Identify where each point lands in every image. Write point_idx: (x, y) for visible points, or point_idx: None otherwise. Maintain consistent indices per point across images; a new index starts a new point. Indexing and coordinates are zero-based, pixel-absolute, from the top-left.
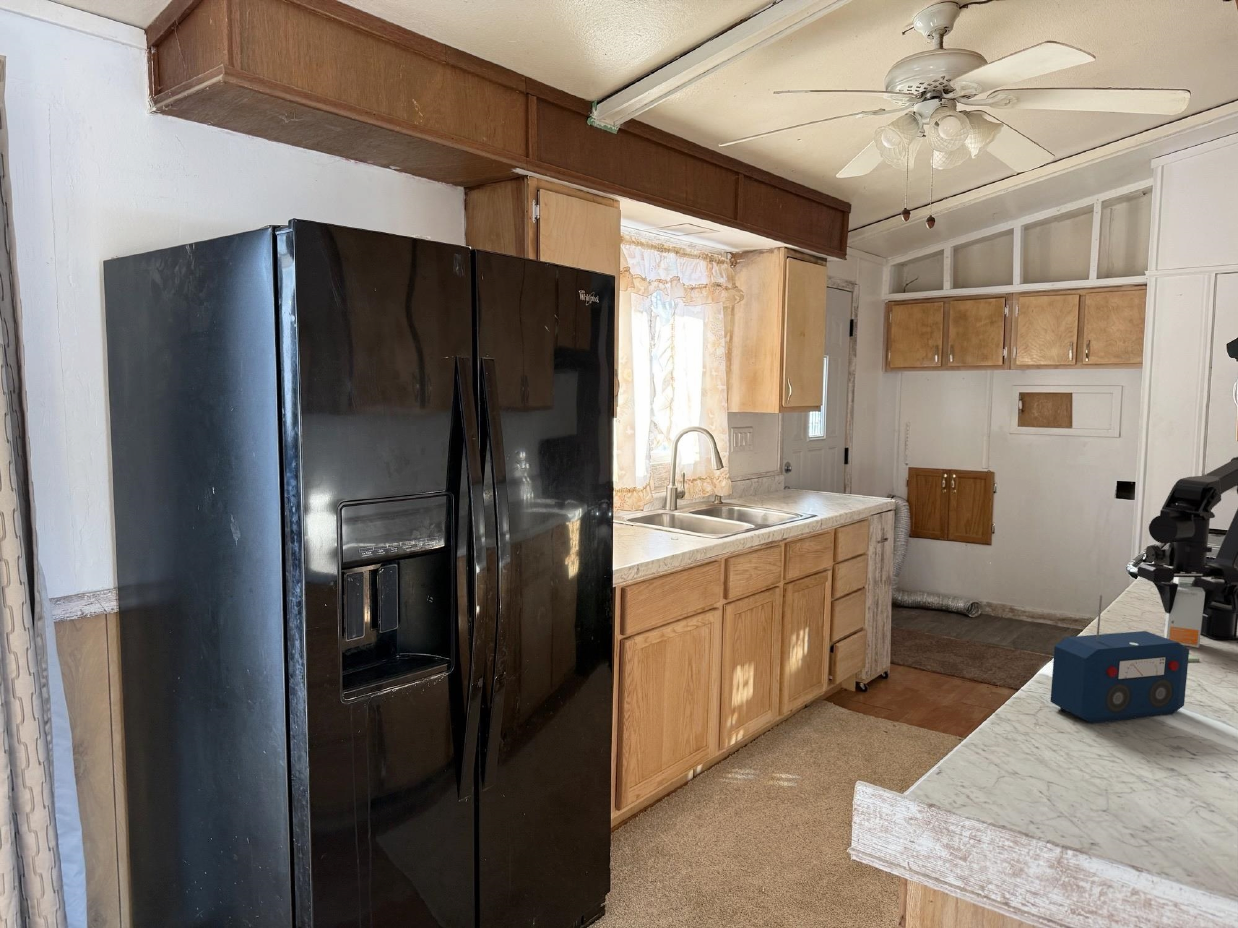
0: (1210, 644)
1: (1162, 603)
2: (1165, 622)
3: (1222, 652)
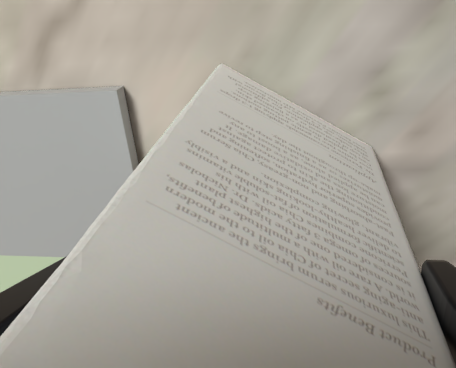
0: (441, 173)
1: (6, 290)
2: (195, 94)
3: None
